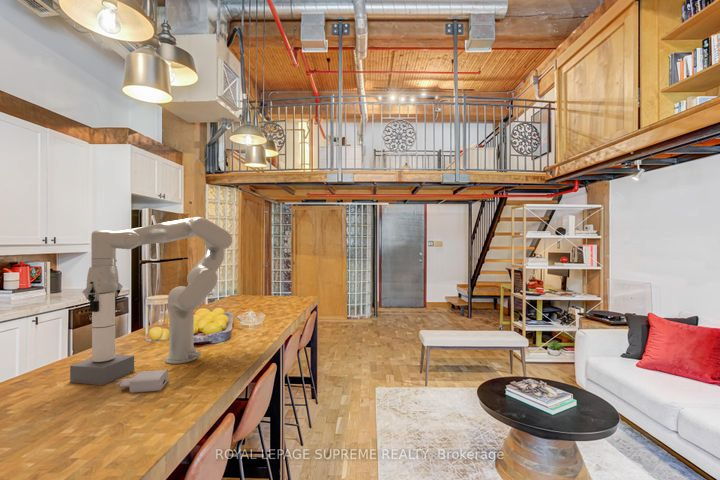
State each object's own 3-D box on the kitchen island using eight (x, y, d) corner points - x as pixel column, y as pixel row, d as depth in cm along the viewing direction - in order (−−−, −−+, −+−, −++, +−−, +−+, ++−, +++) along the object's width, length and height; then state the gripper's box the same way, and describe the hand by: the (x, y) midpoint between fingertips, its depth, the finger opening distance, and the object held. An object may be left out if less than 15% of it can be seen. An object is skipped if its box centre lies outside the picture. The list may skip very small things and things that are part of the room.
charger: (122, 384, 130) (168, 381, 133) (110, 395, 121) (159, 391, 124) (122, 371, 130) (168, 368, 133) (110, 381, 121) (159, 378, 124)
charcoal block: (134, 371, 143) (134, 355, 143) (103, 385, 129) (103, 368, 129) (103, 368, 145) (103, 353, 145) (70, 382, 131) (70, 365, 131)
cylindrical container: (90, 362, 132) (90, 294, 132) (94, 357, 139) (94, 292, 139) (113, 359, 136) (113, 293, 136) (116, 354, 142) (116, 291, 142)
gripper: (114, 261, 146) (114, 305, 146) (73, 264, 129) (73, 313, 129) (130, 261, 145) (130, 305, 145) (91, 264, 128) (91, 314, 128)
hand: (103, 309), depth 137 cm, fingers closed on cylindrical container, 7 cm apart
